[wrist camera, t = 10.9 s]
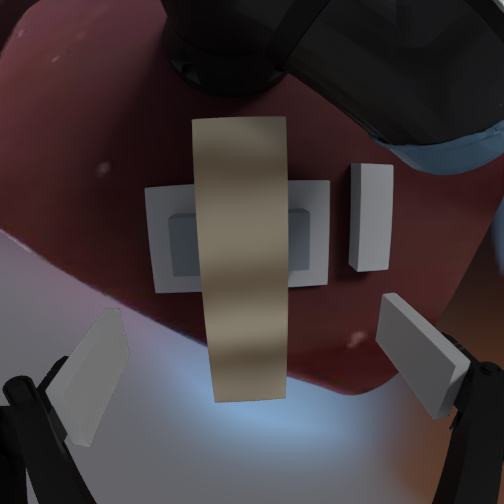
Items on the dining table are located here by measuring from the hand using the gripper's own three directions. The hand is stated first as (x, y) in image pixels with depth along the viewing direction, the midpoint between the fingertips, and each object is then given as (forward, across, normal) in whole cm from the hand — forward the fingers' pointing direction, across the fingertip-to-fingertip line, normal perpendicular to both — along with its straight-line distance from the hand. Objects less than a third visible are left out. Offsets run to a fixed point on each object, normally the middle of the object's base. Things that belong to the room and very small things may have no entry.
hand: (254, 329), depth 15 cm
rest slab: (+21, +15, +2) cm, 26 cm away
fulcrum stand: (+21, 0, 0) cm, 21 cm away
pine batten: (+13, 0, 0) cm, 13 cm away
